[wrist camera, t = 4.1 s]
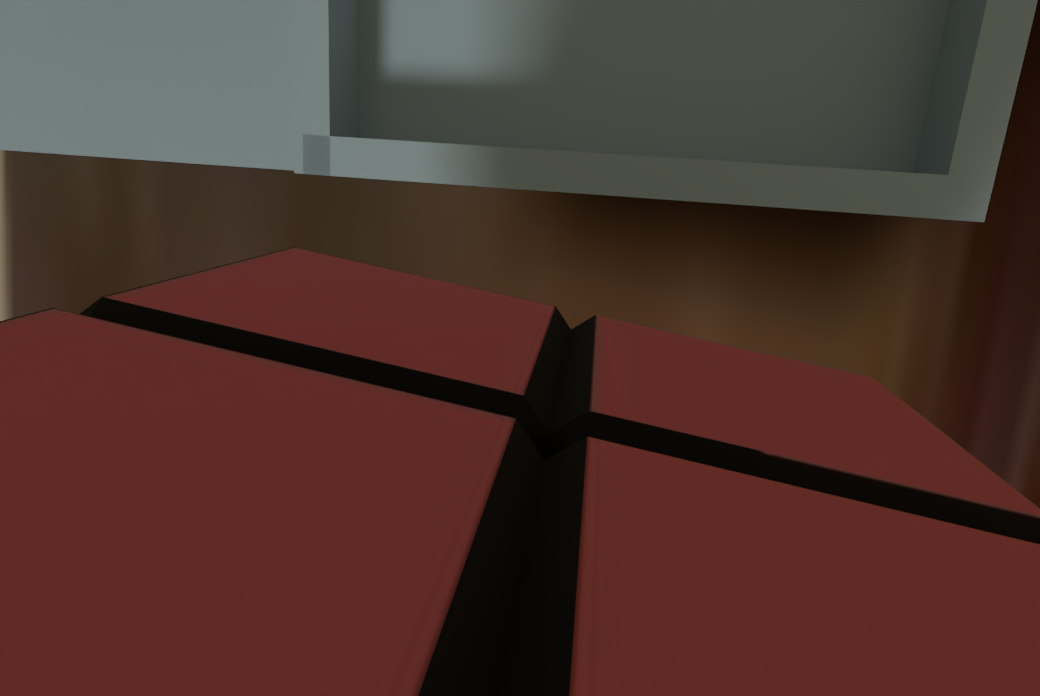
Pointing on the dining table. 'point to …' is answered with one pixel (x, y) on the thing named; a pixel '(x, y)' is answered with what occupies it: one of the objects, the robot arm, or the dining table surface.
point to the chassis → (539, 93)
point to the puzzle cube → (478, 505)
